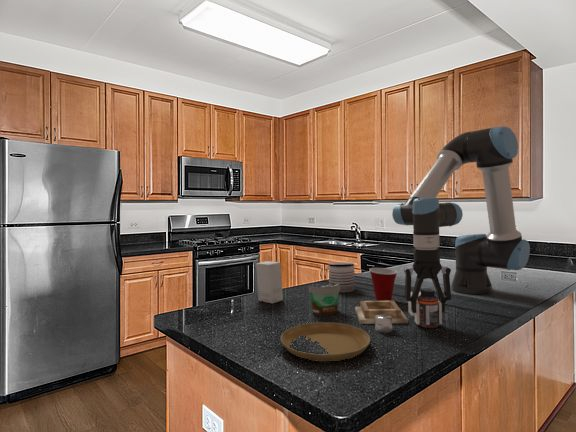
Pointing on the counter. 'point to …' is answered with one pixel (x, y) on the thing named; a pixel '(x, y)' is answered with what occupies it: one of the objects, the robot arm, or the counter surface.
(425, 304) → the supplement bottle
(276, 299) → the skincare box
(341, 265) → the off-white ribbed cylinder
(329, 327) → the plant saucer
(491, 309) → the counter surface
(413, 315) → the off-white block
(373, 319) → the tray
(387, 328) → the small clear jar
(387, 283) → the plastic cup
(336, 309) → the food container
